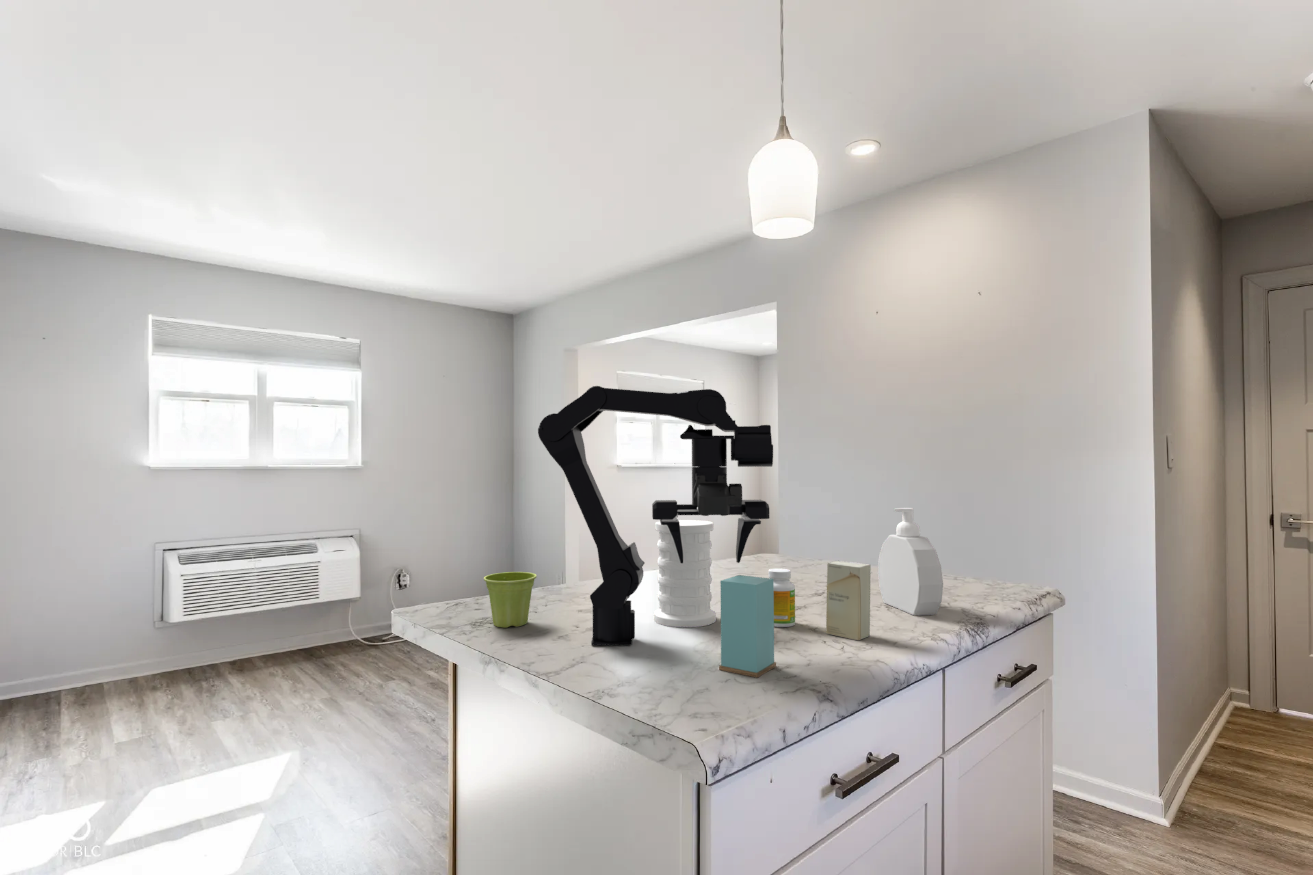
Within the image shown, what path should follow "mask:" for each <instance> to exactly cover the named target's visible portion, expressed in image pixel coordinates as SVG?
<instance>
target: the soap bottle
mask: <svg viewBox="0 0 1313 875" xmlns="http://www.w3.org/2000/svg"><path fill="white" fill-rule="evenodd" d="M893 512H895V513H902V516H901V517H902V521H901V522H898V524H897V525H896V528H895V530H896V532H895V534H889V535H888V537H887V538H886V539H885V540H884V541H883V543H882V544H881V549H880V551H879V554H878V562H877V563H878V564H877V576H878V586H879V587H878V588H879V591H880V596H881V597H882V601H883V603H884V604H886V605H889V606H890V607H892V606H893V607H892V608H895V609H897V608H898V610H899V609H900V611H902V610H903V611H902V612H904V613H907V614H909V615H912V616H914V615H918V616H933V615H934V614H936V615H938V612H939V609H940V607H941V604H942V600H943V593H944V592H943V590H944V589H943V588H944V580H943V571H942V565H941V564H942V563H941V562H940V558H939V556H938V552H937V550H936V548H935V547H934V545H933V544H932V543H931V541H930V539H929V538H928V537H925V536H921V529H920V526H919V524H918V523H916V522H915V521H914V508H913V507H896V508H893Z"/></svg>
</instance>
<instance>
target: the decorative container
mask: <svg viewBox="0 0 1313 875" xmlns="http://www.w3.org/2000/svg"><path fill="white" fill-rule="evenodd" d="M678 521H679V524H680V534H681V541H682V549H683V563H680V559H679V556H678V553H677V550H676V546H675V543H674V540H673V537H672V535H671V532H670V530H669V528H668V526H667V525H661V523H660V520H659V521H656V522H655V531H657V532H658V540H657V543H656V544H657V549H658V554H659V555H658V558H657V561H656V562H657V565H658V570H659V572H658V575H657V584H659V586H658V589H659V591H658V592H657V600H658V602H659V603H658V604H659V606H658V609H656V610H655V611H654V612H653V620H654V622H655V623H656V624H659V625H661V626H666V627H673V628H698V627H704V626H709V625H711V624H713V623H715V622H716V621H717V612H716V611H715V610H713V609H712V608H711V601H712V599H713V594H712V592H711V584H712V580H713V577H712V574H711V567H712V563H713V561H712V557H711V549H712V541H711V536H710V535H711V534H710V533H711V532H712V531H714V522H712V521H709V520H701V519H700V520H698V519H696V520H695V519H678Z"/></svg>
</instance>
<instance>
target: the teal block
mask: <svg viewBox="0 0 1313 875" xmlns="http://www.w3.org/2000/svg"><path fill="white" fill-rule="evenodd" d="M774 662H775V627H774V581H773V579H771V578H769V577H762V576H761V577H760V576H752V575H744V574H743V575H742V574H738V575H735V576H731V577H728V578H725V579H722V580H720V665H721V666H725V667H730V668H735V669H740V670H745V671H750V672H755V673H757V672H759V671H761V670H762V669H764V668H766V667H767V666H769V665H771V664H772V663H774Z"/></svg>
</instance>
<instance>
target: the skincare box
mask: <svg viewBox="0 0 1313 875" xmlns="http://www.w3.org/2000/svg"><path fill="white" fill-rule="evenodd" d="M826 566H827V570H826V618H825V619H826V620H825V622H826V625H825V627H826V628H825V629H826V630H825V633H826V635H827V634H828V635H832V636H836V637H841V638H845V639H848V640H849V639H850V640H853V641H861V640H863V639H866V638H867V637H870V636H871V635H870V634H871V633H870V632H871V570H872V569H871V564H867V563H861V562H860V563H859V562H854V561H853V562H852V561H846V560H834V561H829V562H827V563H826Z"/></svg>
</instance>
